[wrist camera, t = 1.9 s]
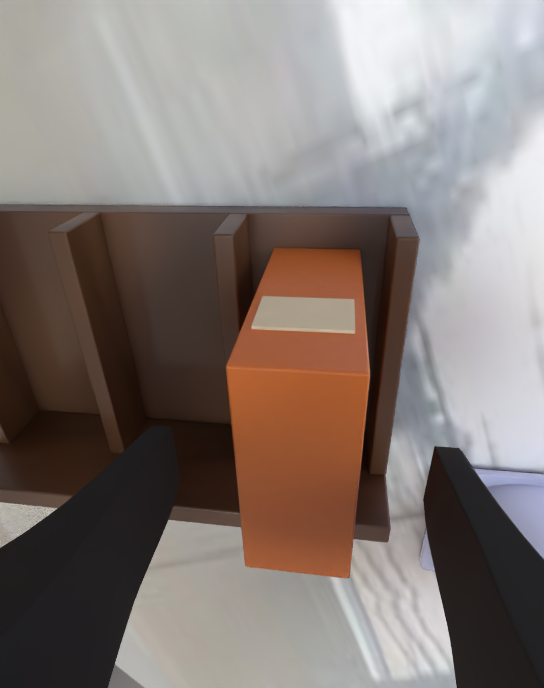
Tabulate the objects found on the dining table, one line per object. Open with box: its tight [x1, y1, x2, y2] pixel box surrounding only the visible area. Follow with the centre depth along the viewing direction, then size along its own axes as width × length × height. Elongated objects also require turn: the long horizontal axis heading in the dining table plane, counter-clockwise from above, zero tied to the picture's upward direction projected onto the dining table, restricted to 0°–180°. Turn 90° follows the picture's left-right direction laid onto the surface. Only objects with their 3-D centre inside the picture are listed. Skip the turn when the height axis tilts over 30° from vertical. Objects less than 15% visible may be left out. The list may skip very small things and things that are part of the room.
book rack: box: [0, 205, 420, 542], centre depth 18 cm, size 18×11×6 cm, turn 91°
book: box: [226, 248, 370, 578], centre depth 15 cm, size 3×8×8 cm, turn 1°
